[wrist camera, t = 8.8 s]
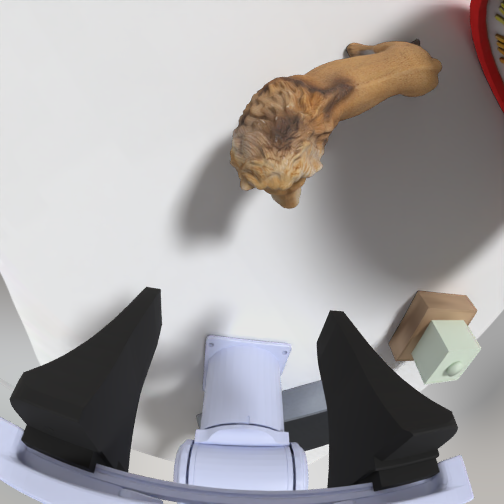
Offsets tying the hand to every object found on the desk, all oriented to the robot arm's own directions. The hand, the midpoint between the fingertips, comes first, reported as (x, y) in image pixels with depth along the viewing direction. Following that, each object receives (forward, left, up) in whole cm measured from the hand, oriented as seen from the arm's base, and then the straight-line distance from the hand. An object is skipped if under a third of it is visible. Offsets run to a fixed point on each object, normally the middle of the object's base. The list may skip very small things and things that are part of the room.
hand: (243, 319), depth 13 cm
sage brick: (-8, -20, -8) cm, 23 cm away
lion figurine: (+10, -4, -11) cm, 15 cm away
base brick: (-8, -20, -10) cm, 24 cm away
